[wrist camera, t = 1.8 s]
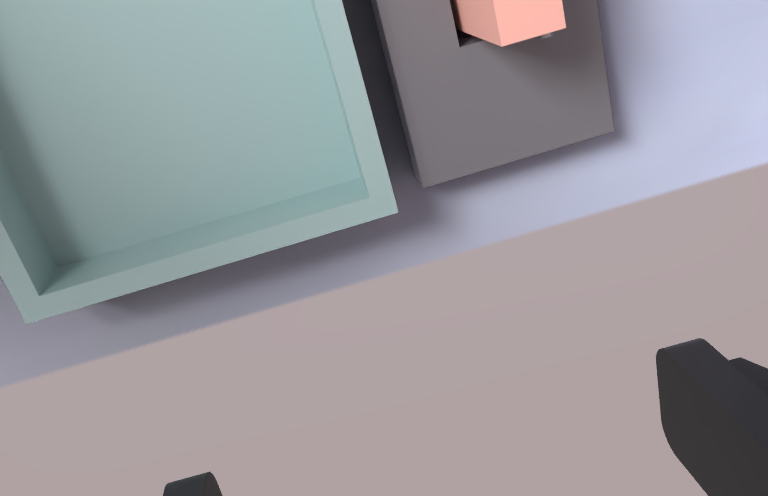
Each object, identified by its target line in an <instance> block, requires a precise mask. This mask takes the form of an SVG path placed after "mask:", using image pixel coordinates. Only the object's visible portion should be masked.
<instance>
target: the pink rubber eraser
mask: <svg viewBox="0 0 768 496" xmlns="http://www.w3.org/2000/svg"><path fill="white" fill-rule="evenodd" d="M450 4H451V9H452V14H453V19H454V23H455V28H456V29H457V30H460V31H463V32H465V33H468V34H470V35H473V36H475V37H478V38H481V39H483V40H486V41H488V42H491V43H493V44H496V45H499V46H501V47H502V46H506V45H509V44H513V43H516V42H520V41H523V40H526V39H530V38H533V37H537V36H540V35H543V34H547V33H550V32H554V31H557V30H561V29H564V28H566V23H565V17H564V10H563V4H562V0H450Z"/></svg>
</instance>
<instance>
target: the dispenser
mask: <svg viewBox="0 0 768 496" xmlns="http://www.w3.org/2000/svg"><path fill="white" fill-rule="evenodd" d="M371 4H372V8H373V12H374V16H375V20H376V24H377V28H378V32H379V36H380V40H381V44H382V48H383V52H384V56H385V60H386V63H387V67H388V71H389V75H390V79H391V83H392V87H393V91H394V95H395V99H396V103H397V107H398V111H399V115H400V119H401V123H402V127H403V131H404V135H405V139H406V143H407V146H408V150H409V154H410V158H411V162H412V166H413V170H414V174H415V177H416V178H417V180H418V181H419V183H420V184H421V186H422V187H423V188H426V187H429V186H433V185H436V184H439V183H443V182H446V181H449V180H453V179H456V178H459V177H463V176H466V175H470V174H473V173H476V172H480V171H483V170H486V169H490V168H493V167H496V166H500V165H503V164H506V163H510V162H513V161H516V160H520V159H523V158H526V157H530V156H533V155H536V154H540V153H543V152H546V151H550V150H553V149H556V148H560V147H563V146H566V145H570V144H573V143H576V142H580V141H583V140H587V139H590V138H593V137H597V136H600V135H603V134H607V133H610V132H613V131H614V125H613V118H612V110H611V103H610V95H609V88H608V80H607V72H606V65H605V57H604V50H603V42H602V35H601V27H600V20H599V12H598V5H597V0H562V4H563V10H564V17H565V23H566V28H564V29H561V30H557V31H554V32H550V33H547V34H543V35H540V36H537V37H533V38H530V39H526V40H523V41H520V42H516V43H513V44H509V45H506V46H502V47H501V46H499V45H496V44H493V43H491V42H488V41H486V40H483V39H481V38H478V37H475V36H473V35H472V36H468V37H465V38H462V39H458V38H457V33H456V28H455V23H454V19H453V14H452V9H451V4H450V0H371Z"/></svg>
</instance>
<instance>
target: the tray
mask: <svg viewBox="0 0 768 496" xmlns="http://www.w3.org/2000/svg"><path fill="white" fill-rule="evenodd" d="M396 213H399V212H398V208H397V204H396V200H395V197H394V193H393V189H392V186H391V182H390V178H389V174H388V171H387V167H386V163H385V159H384V156H383V152H382V148H381V145H380V141H379V137H378V133H377V130H376V126H375V122H374V118H373V115H372V111H371V107H370V104H369V100H368V96H367V92H366V89H365V85H364V81H363V77H362V74H361V70H360V66H359V63H358V59H357V55H356V51H355V48H354V44H353V40H352V36H351V33H350V29H349V25H348V22H347V18H346V14H345V10H344V7H343V3H342V0H0V276H1V278H2V280H3V282H4V283H5V285H6V287H7V289H8V291H9V293H10V295H11V297H12V299H13V301H14V302H15V304H16V306H17V308H18V310H19V312H20V314H21V316H22V318H23V320H24V321H25V323H26V324H29V323H32V322H36V321H39V320H42V319H46V318H49V317H52V316H56V315H59V314H62V313H66V312H69V311H72V310H76V309H79V308H82V307H86V306H89V305H92V304H96V303H99V302H102V301H106V300H109V299H112V298H116V297H119V296H122V295H126V294H129V293H132V292H136V291H139V290H142V289H146V288H149V287H152V286H156V285H159V284H162V283H166V282H169V281H172V280H176V279H179V278H182V277H186V276H189V275H192V274H196V273H199V272H202V271H206V270H209V269H212V268H216V267H219V266H222V265H226V264H229V263H232V262H236V261H239V260H242V259H246V258H249V257H252V256H256V255H259V254H262V253H266V252H269V251H272V250H276V249H279V248H282V247H286V246H289V245H292V244H296V243H299V242H302V241H306V240H309V239H312V238H316V237H319V236H322V235H326V234H329V233H332V232H336V231H339V230H342V229H346V228H349V227H352V226H356V225H359V224H362V223H366V222H369V221H372V220H376V219H379V218H382V217H386V216H389V215H392V214H396Z"/></svg>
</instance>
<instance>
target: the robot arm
mask: <svg viewBox="0 0 768 496" xmlns="http://www.w3.org/2000/svg"><path fill="white" fill-rule="evenodd" d="M656 364H657V376H658V388H659V399H660V410H661V421H662V426H663V430H664V433H665V436H666V438H667V441H668V443H669V445H670V447H671V449H672V451H673V452H674V454H675V455H676V456H677V458H678V459H679V460H680V461H681V463H682V464H683V465H684V466H685V468H686V469H687V470H688V471H689V473H690V474H691V475H692V476H693V477H694V479H695V480H696V481H697V482H698V483H699V485H700V486H701V487H702V489H703V490H704V491H705V492H706V493H707V495H708V496H768V369H767V368H765V367H762V366H760V365H758V364H755V363H752V362H750V361H748V360H745V359H743V358H736V359H732V360H729V361H728V360H727V359H726V358H725V357H724V356H723V355H722V354H720V353H719V352H718V351H717V350H716V349H715V348H714V347H713V346H711V345H710V344H709V343H708V342H707V341H705V340H704V339H700V338H699V339H695V340H691V341H688V342H684V343H680V344H677V345H673V346H669V347H666V348H662V349H659V350H658V352H657V355H656ZM163 496H222V494H221V491H220V489H219V486H218V484H217V481H216V479H215V477H214V475H213V474H212V473H211V472H207V473H203V474H200V475H196V476H193V477H189V478H185V479H182V480H178V481H175V482H171V483H168V484H167V485H166V486H165V489H164V494H163Z"/></svg>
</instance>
